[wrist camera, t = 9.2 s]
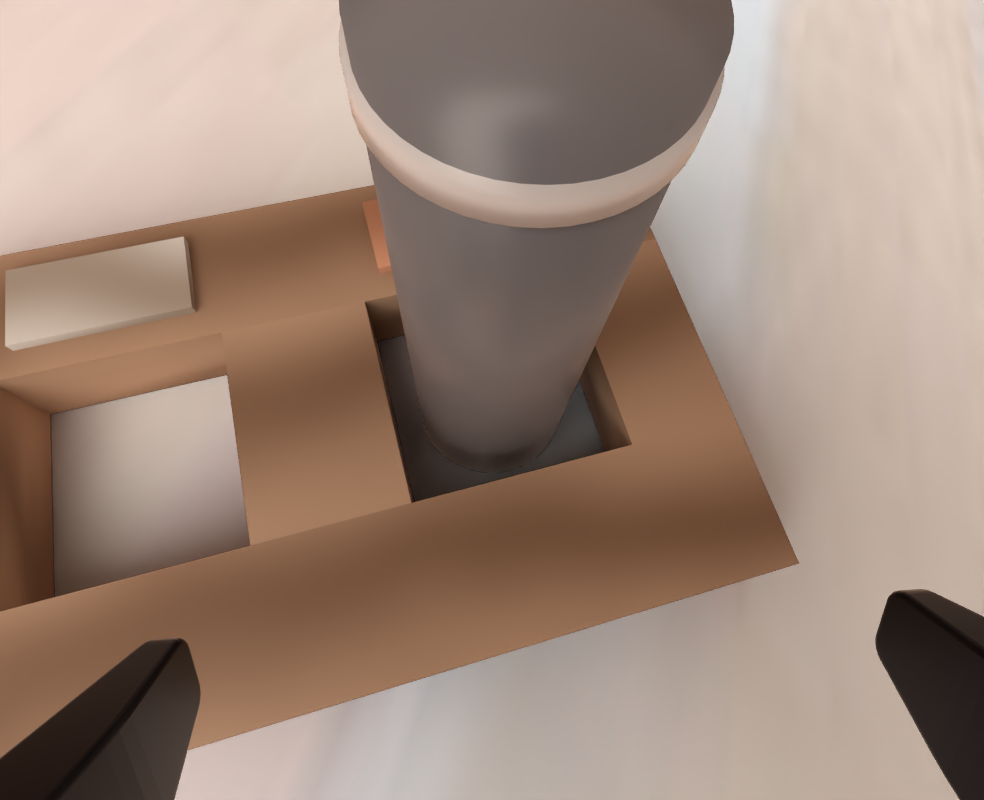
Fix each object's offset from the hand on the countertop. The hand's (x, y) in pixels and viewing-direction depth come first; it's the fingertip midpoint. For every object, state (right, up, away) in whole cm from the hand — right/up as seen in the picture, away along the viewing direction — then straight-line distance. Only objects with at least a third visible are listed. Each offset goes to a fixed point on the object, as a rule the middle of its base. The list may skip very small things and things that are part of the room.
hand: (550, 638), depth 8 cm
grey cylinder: (-1, +3, +11) cm, 12 cm away
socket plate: (-6, +2, +10) cm, 12 cm away
